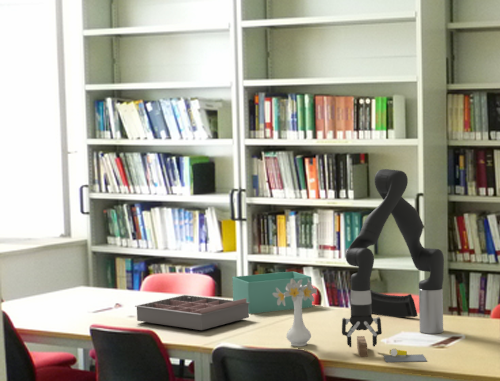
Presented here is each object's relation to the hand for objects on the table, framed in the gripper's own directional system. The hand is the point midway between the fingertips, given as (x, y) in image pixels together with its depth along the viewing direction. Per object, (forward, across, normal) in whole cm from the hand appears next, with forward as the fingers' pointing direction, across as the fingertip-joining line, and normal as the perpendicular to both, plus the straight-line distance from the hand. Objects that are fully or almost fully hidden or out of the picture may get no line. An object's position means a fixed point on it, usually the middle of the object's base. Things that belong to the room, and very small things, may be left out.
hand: (362, 346), depth 316 cm
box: (+3, +35, -94) cm, 100 cm away
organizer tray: (+3, +69, -62) cm, 93 cm away
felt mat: (+2, -14, +11) cm, 18 cm away
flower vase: (+2, +23, -13) cm, 27 cm away
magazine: (+2, -16, -68) cm, 70 cm away
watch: (+1, -14, +4) cm, 15 cm away
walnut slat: (+2, 0, 0) cm, 2 cm away
